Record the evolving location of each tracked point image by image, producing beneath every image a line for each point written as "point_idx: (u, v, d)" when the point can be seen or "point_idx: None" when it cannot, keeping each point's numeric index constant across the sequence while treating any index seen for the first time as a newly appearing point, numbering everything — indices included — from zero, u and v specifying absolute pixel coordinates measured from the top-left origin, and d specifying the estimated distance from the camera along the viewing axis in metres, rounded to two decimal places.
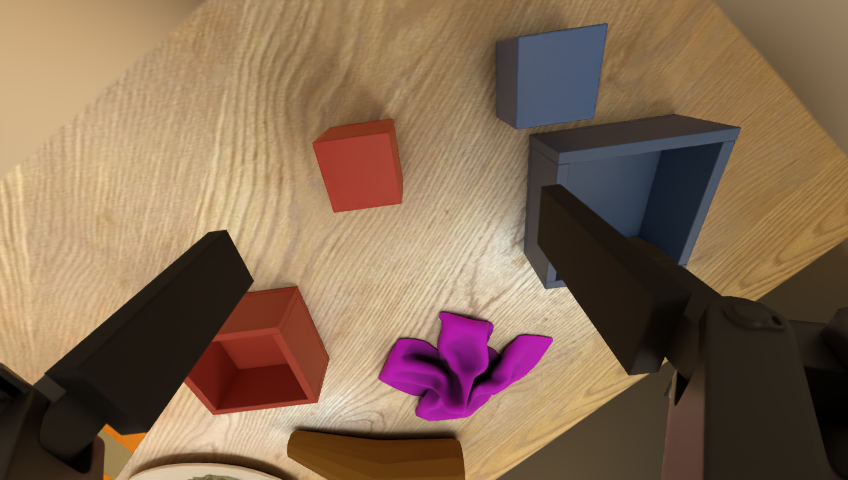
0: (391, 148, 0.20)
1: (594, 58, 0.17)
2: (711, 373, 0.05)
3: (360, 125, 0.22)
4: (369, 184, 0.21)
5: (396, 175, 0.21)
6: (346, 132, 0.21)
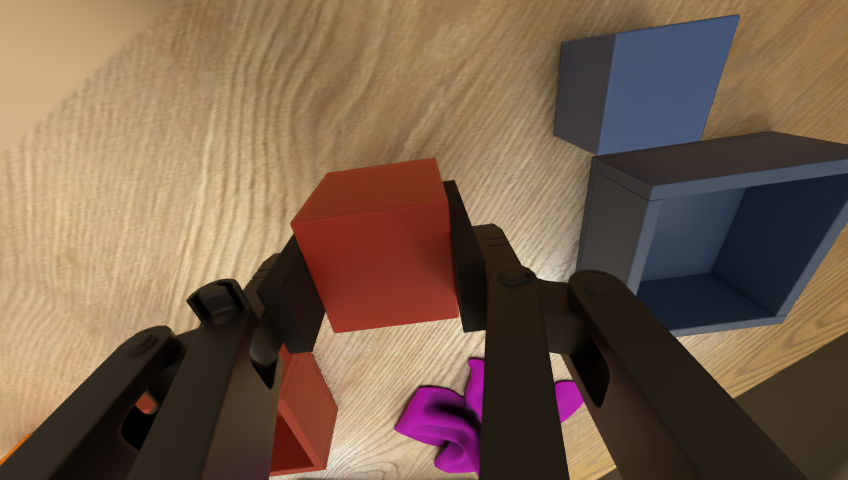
0: (449, 230, 0.10)
1: (714, 62, 0.13)
2: (489, 330, 0.06)
3: (381, 172, 0.13)
4: (402, 290, 0.11)
5: (453, 275, 0.11)
6: (358, 192, 0.11)
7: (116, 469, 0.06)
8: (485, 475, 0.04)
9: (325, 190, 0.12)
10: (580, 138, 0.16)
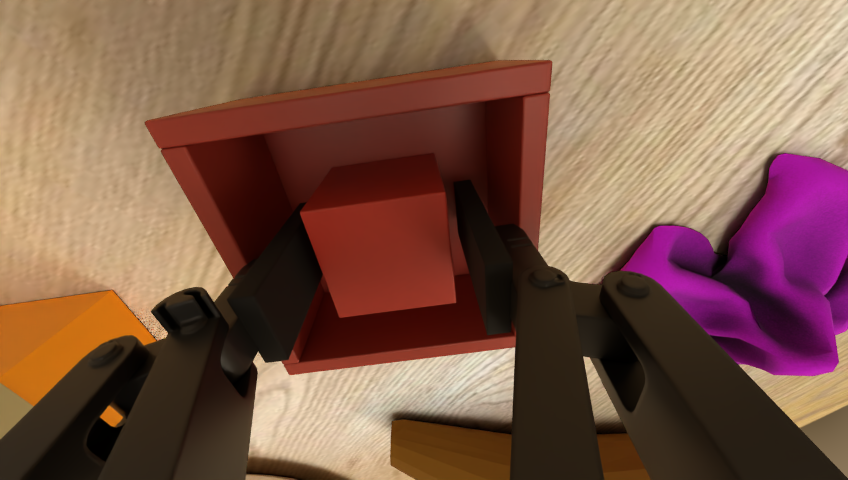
0: (446, 219, 0.11)
1: None
2: (520, 331, 0.06)
3: (383, 166, 0.13)
4: (403, 276, 0.12)
5: (451, 261, 0.12)
6: (361, 184, 0.12)
7: None
8: (516, 479, 0.04)
9: (331, 183, 0.12)
10: None
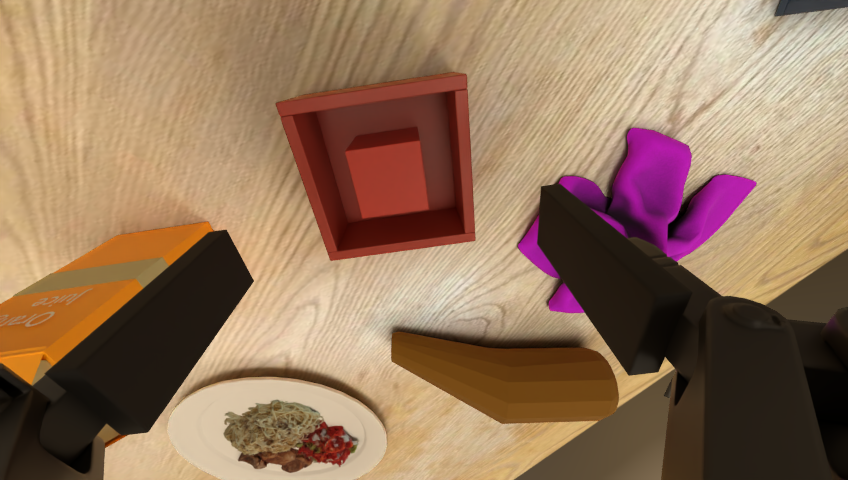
0: (421, 156, 0.20)
1: None
2: (711, 373, 0.05)
3: (387, 133, 0.23)
4: (398, 191, 0.21)
5: (424, 182, 0.21)
6: (375, 140, 0.21)
7: None
8: None
9: (358, 141, 0.22)
10: None
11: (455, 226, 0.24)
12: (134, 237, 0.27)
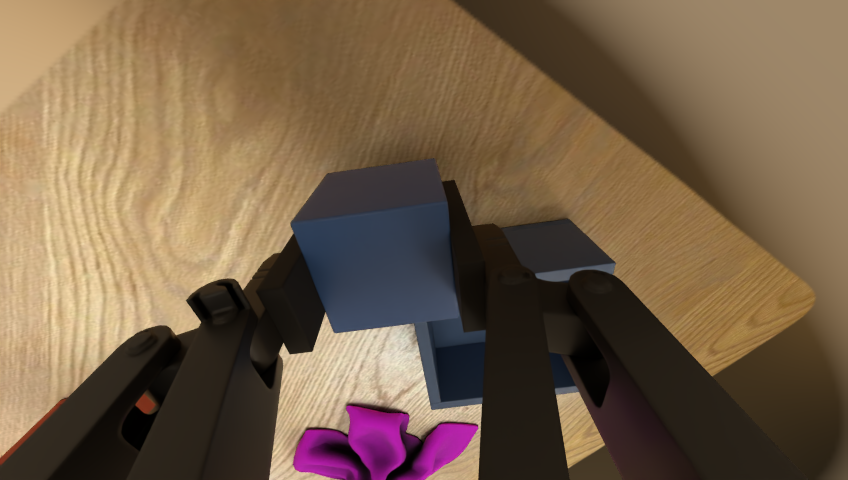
0: None
1: (435, 247, 0.10)
2: (489, 330, 0.06)
3: None
4: None
5: None
6: None
7: (116, 469, 0.06)
8: (485, 475, 0.04)
9: None
10: None
11: None
12: None
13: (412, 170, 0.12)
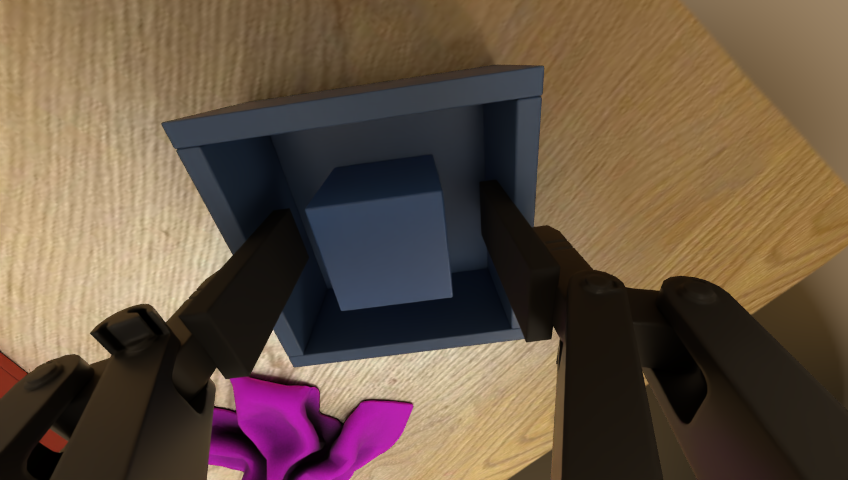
0: None
1: (432, 231, 0.11)
2: (571, 337, 0.06)
3: None
4: None
5: None
6: None
7: None
8: None
9: None
10: None
11: None
12: None
13: (411, 165, 0.14)
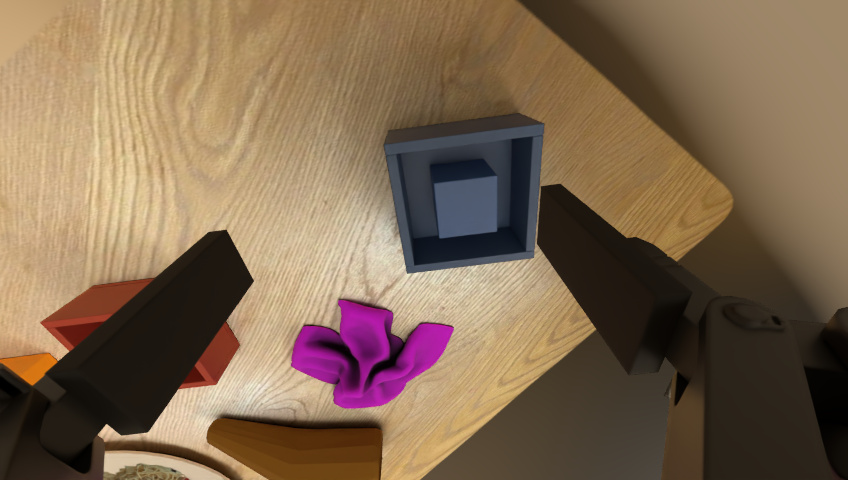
0: None
1: (490, 195, 0.24)
2: (711, 373, 0.05)
3: None
4: None
5: None
6: None
7: None
8: None
9: None
10: None
11: None
12: None
13: (475, 164, 0.26)
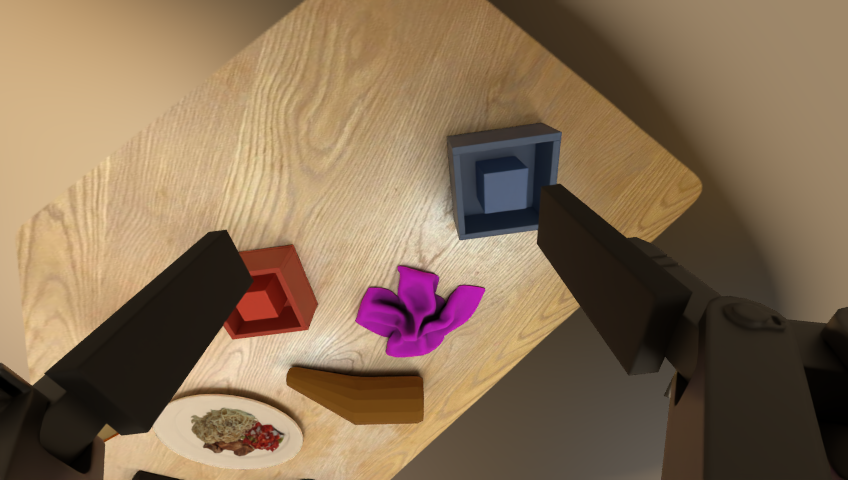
0: (267, 296, 0.41)
1: (523, 182, 0.34)
2: (711, 373, 0.05)
3: (259, 275, 0.44)
4: (260, 310, 0.42)
5: (272, 306, 0.42)
6: None
7: None
8: None
9: None
10: (481, 204, 0.37)
11: None
12: None
13: (509, 160, 0.36)
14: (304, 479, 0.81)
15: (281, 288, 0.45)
